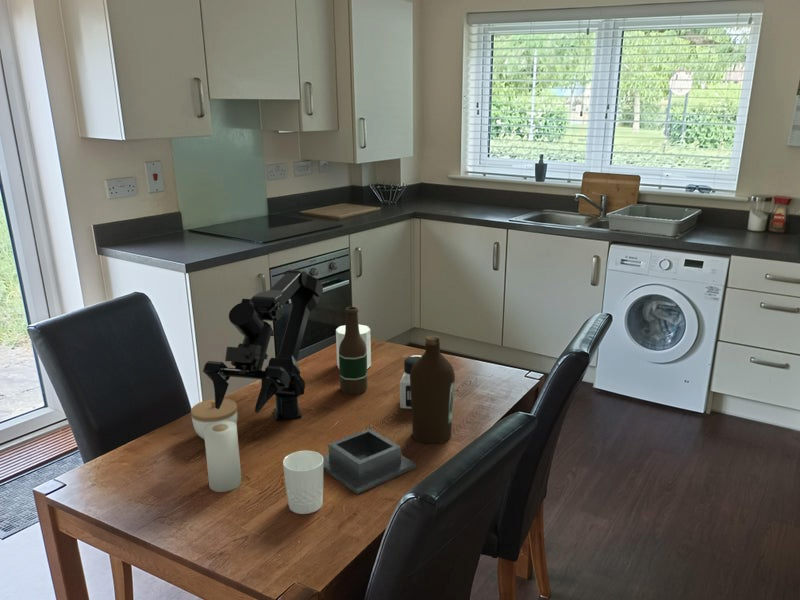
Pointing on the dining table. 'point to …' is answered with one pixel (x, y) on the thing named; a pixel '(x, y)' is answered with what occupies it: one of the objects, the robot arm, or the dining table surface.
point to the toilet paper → (363, 333)
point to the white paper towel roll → (222, 456)
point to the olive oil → (432, 394)
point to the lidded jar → (212, 414)
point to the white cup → (304, 481)
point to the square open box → (365, 460)
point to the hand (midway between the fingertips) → (236, 410)
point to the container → (407, 382)
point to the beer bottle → (352, 356)
